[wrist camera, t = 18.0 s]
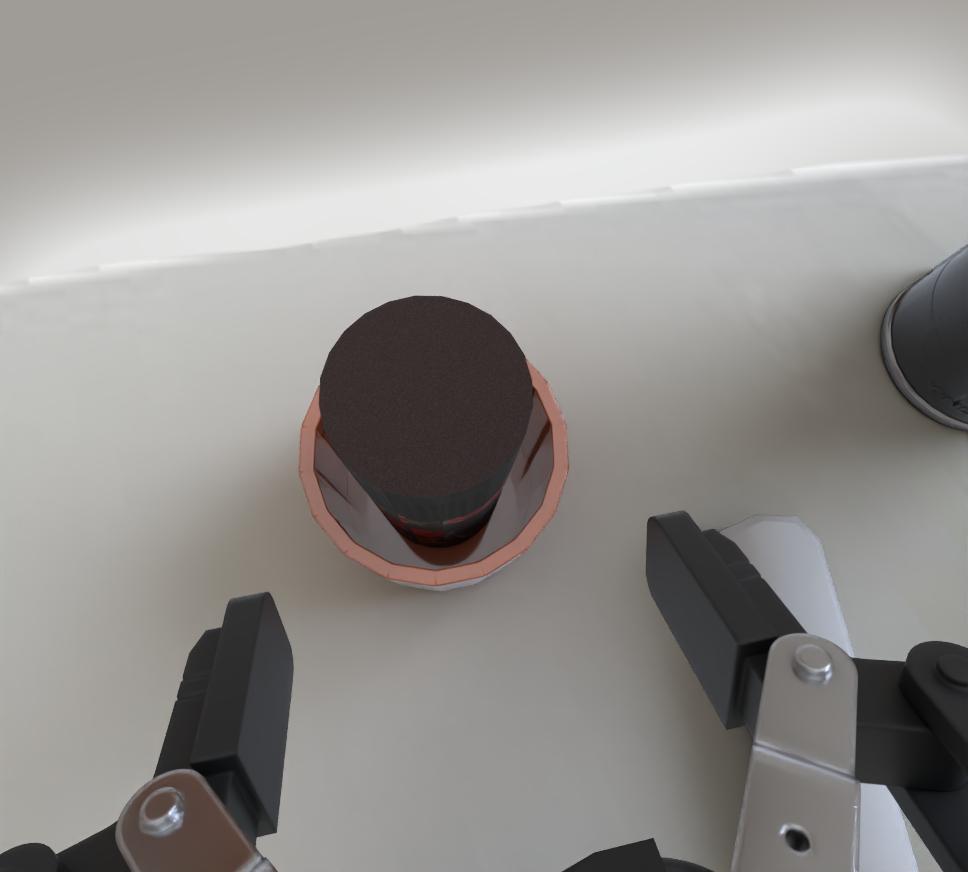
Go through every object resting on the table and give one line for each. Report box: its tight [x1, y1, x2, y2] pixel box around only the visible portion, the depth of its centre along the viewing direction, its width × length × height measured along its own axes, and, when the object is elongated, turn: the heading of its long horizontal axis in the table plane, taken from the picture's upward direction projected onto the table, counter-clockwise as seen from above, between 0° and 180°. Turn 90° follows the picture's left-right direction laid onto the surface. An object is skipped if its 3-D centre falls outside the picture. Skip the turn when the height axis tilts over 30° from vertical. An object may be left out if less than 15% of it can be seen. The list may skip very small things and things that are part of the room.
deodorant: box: [319, 296, 533, 548], centre depth 25 cm, size 6×6×15 cm
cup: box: [299, 360, 569, 591], centre depth 29 cm, size 10×10×8 cm
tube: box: [720, 515, 919, 872], centre depth 28 cm, size 5×5×25 cm
